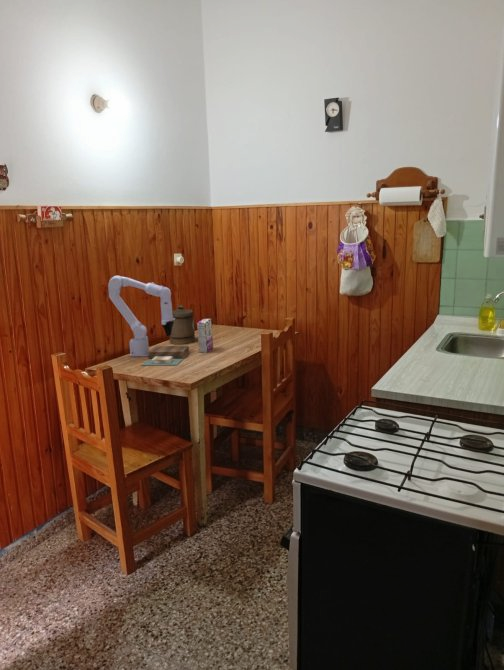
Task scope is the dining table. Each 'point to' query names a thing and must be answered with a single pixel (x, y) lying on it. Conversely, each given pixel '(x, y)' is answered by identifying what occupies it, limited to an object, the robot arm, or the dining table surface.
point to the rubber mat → (173, 363)
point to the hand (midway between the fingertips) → (168, 335)
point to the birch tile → (162, 359)
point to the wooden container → (182, 326)
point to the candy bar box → (205, 335)
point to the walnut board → (169, 351)
